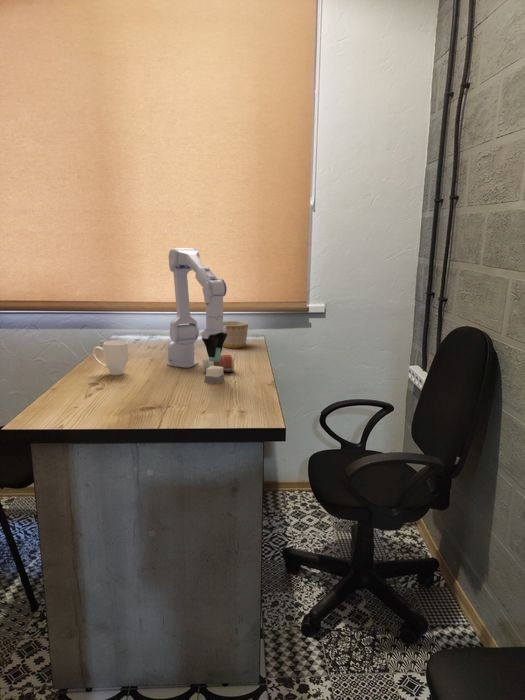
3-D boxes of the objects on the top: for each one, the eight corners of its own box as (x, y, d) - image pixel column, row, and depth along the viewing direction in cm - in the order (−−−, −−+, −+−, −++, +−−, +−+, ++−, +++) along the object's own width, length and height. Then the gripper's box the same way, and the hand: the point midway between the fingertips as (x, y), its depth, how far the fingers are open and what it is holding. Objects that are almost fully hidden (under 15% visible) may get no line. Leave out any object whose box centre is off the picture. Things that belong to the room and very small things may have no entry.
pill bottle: (232, 351, 185) (202, 351, 183) (234, 362, 180) (204, 363, 178) (231, 363, 189) (202, 364, 187) (233, 375, 184) (203, 375, 182)
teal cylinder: (206, 360, 170) (206, 349, 169) (212, 358, 174) (212, 346, 173) (217, 362, 169) (217, 350, 168) (222, 359, 172) (222, 348, 171)
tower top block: (206, 375, 171) (206, 368, 170) (211, 372, 175) (211, 365, 174) (218, 377, 170) (218, 370, 169) (223, 373, 174) (223, 367, 173)
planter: (214, 346, 224) (213, 323, 222) (231, 341, 234) (231, 319, 232) (236, 350, 217) (236, 326, 215) (253, 345, 228) (253, 323, 225)
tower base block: (204, 382, 172) (204, 375, 171) (211, 379, 176) (211, 372, 176) (217, 384, 170) (217, 377, 169) (224, 380, 174) (224, 373, 174)
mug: (130, 370, 184) (129, 339, 181) (127, 376, 176) (126, 344, 173) (96, 370, 182) (94, 340, 179) (92, 377, 174) (90, 345, 171)
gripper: (215, 320, 160) (215, 361, 163) (234, 313, 173) (234, 352, 176) (195, 318, 162) (196, 359, 165) (216, 312, 175) (216, 350, 178)
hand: (214, 355), depth 171 cm, fingers closed on teal cylinder, 4 cm apart
